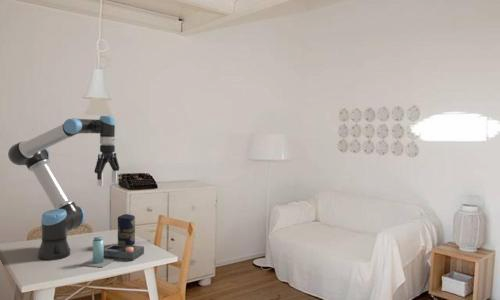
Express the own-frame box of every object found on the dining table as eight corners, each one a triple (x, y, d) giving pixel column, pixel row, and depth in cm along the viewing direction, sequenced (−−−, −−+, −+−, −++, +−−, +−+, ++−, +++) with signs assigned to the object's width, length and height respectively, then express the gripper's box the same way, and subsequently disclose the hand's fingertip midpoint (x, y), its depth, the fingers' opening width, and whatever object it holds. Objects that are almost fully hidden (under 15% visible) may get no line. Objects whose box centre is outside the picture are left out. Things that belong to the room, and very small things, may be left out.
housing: (100, 257, 208) (100, 250, 208) (113, 251, 220) (113, 243, 220) (132, 260, 205) (132, 253, 204) (143, 253, 216) (143, 246, 216)
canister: (129, 248, 226) (129, 216, 225) (114, 246, 228) (114, 215, 227) (137, 243, 235) (138, 213, 235) (123, 242, 237) (123, 212, 236)
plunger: (124, 256, 208) (124, 248, 208) (128, 254, 212) (128, 246, 212) (131, 257, 207) (131, 249, 207) (135, 254, 211) (135, 247, 211)
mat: (80, 265, 196) (80, 264, 196) (94, 257, 208) (94, 257, 208) (102, 267, 194) (102, 266, 194) (115, 259, 206) (115, 259, 206)
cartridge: (99, 263, 198) (99, 239, 197) (90, 263, 199) (90, 238, 198) (105, 260, 203) (105, 237, 202) (96, 259, 204) (96, 236, 203)
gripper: (100, 145, 204) (100, 187, 205) (125, 144, 228) (125, 181, 229) (87, 145, 206) (87, 186, 207) (113, 143, 230) (113, 180, 231)
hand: (107, 184), depth 218 cm, fingers open, 13 cm apart
